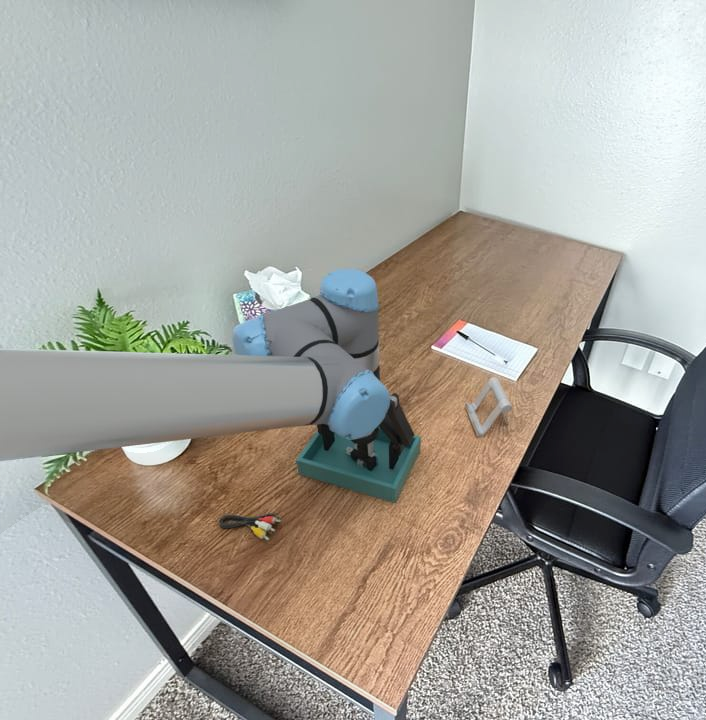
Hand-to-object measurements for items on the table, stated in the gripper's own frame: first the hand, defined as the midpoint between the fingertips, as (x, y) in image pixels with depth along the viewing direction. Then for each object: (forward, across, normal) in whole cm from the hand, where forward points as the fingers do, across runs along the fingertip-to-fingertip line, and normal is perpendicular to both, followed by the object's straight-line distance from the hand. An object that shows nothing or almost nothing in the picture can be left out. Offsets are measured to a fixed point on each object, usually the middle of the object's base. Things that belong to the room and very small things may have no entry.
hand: (361, 454), depth 86 cm
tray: (+2, 0, 0) cm, 2 cm away
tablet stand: (+2, -20, -19) cm, 28 cm away
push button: (+2, 0, 0) cm, 2 cm away
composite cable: (+2, +11, +17) cm, 21 cm away
